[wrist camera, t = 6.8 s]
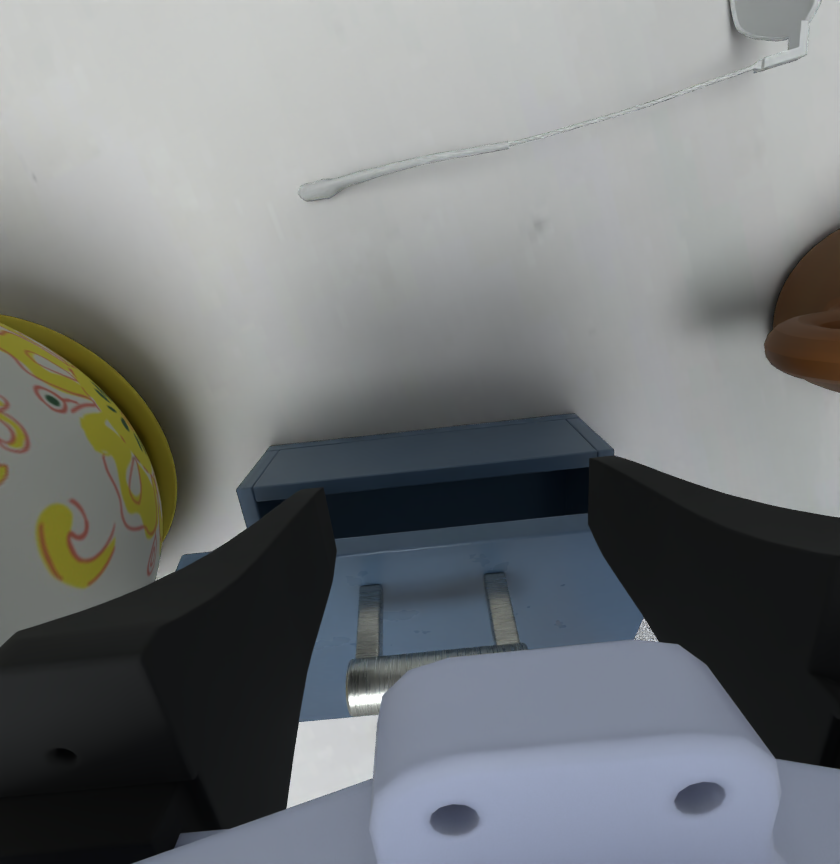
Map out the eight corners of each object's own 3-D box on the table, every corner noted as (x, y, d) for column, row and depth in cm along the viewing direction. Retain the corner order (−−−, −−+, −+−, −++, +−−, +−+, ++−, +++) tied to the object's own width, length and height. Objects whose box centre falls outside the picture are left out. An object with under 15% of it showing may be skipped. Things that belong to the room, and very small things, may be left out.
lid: (181, 553, 14) (116, 705, 11) (676, 503, 14) (768, 644, 10) (296, 707, 22) (280, 819, 19) (604, 678, 22) (642, 787, 19)
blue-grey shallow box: (269, 445, 23) (234, 489, 18) (575, 412, 22) (615, 449, 18) (316, 635, 27) (297, 707, 22) (572, 610, 26) (604, 679, 22)
